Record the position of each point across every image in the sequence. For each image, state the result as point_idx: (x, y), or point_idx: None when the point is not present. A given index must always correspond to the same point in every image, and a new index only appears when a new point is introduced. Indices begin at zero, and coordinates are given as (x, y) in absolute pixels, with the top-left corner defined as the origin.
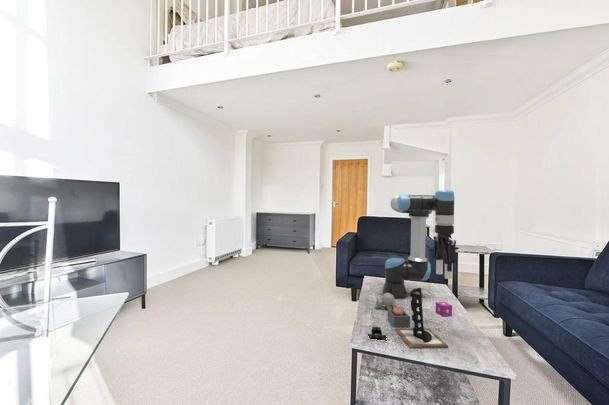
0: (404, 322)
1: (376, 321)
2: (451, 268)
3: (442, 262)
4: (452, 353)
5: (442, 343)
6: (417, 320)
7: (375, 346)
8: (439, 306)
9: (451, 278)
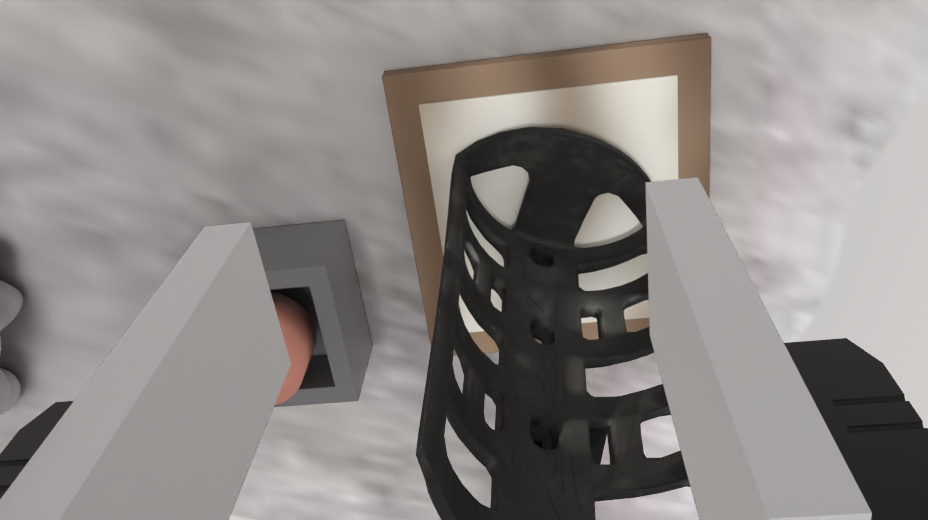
0: (346, 284)
1: (291, 436)
2: (913, 434)
3: (102, 491)
4: (794, 35)
5: (671, 71)
6: (626, 345)
7: (669, 508)
8: None
9: (698, 185)
